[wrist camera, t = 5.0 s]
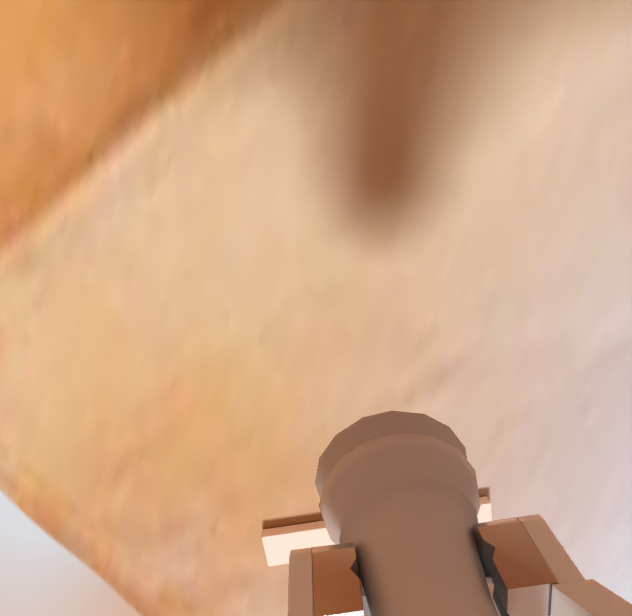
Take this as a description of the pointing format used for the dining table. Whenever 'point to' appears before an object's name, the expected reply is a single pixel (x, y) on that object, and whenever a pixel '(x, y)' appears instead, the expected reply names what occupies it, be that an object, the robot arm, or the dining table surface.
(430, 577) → the rook chess piece
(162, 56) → the dining table surface
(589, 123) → the dining table surface
